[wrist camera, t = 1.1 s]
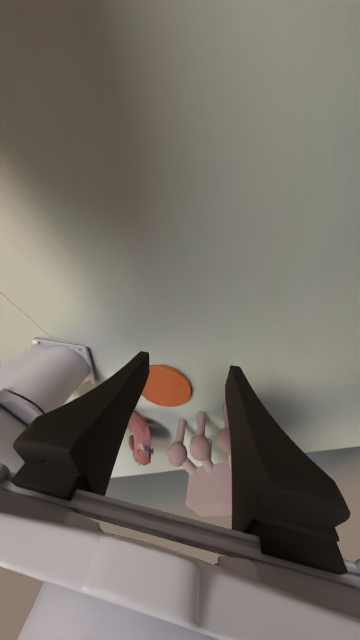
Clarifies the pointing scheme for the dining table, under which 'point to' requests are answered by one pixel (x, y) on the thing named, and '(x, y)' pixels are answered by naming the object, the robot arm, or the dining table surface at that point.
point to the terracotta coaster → (166, 386)
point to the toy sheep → (205, 470)
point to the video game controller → (140, 439)
